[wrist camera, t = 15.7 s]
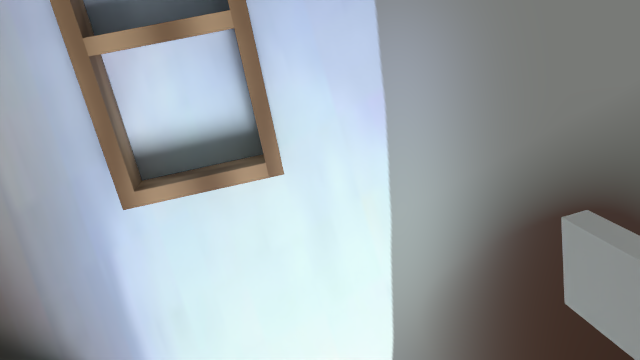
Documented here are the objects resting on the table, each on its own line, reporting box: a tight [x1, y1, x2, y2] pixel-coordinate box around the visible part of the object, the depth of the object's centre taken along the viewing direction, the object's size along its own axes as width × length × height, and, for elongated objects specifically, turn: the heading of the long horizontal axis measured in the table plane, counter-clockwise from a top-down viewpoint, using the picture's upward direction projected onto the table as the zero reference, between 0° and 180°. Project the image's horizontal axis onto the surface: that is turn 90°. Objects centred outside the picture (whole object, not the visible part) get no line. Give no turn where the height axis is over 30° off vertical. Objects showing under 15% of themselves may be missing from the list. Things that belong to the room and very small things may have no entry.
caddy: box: [50, 0, 284, 210], centre depth 33 cm, size 12×24×3 cm, turn 10°
